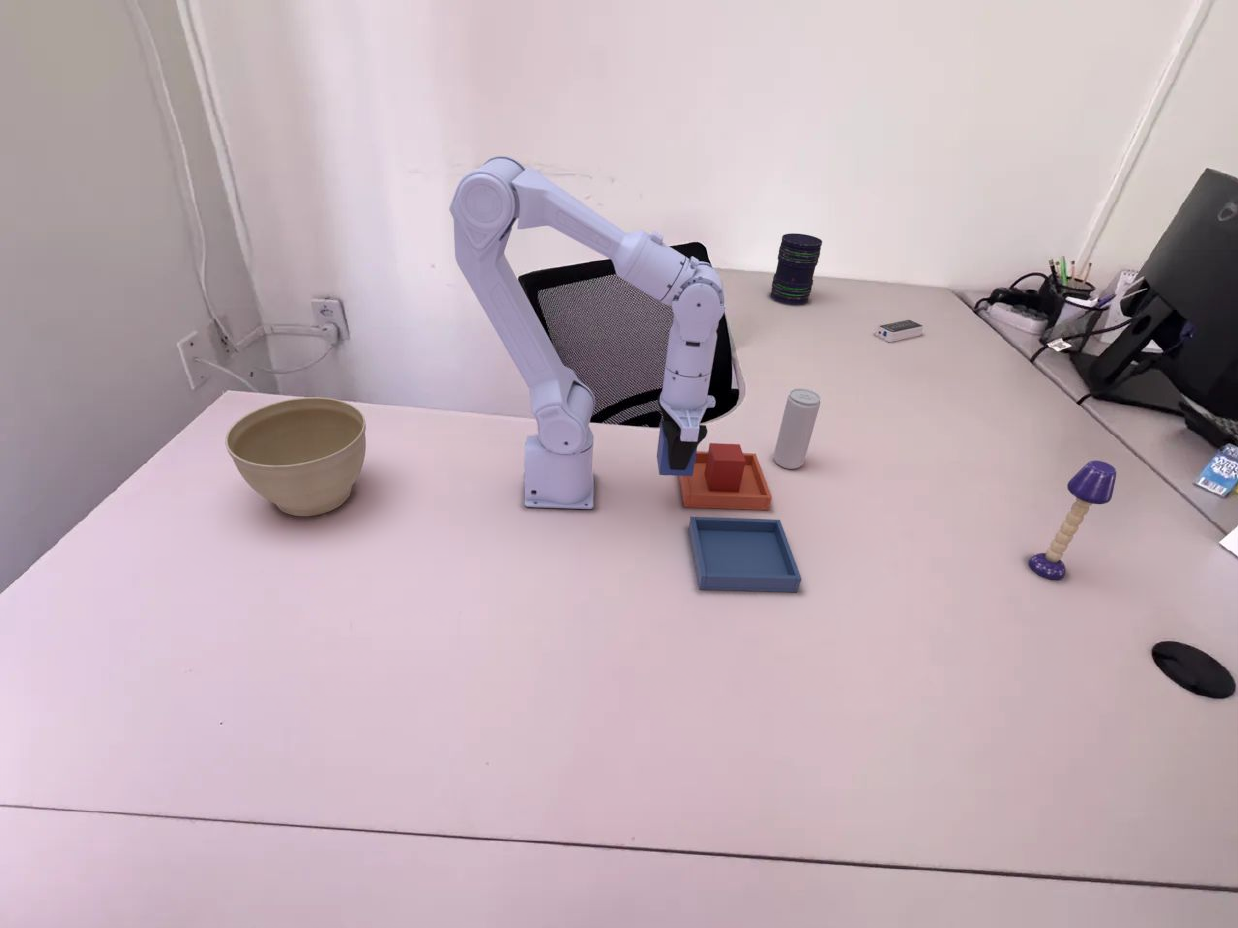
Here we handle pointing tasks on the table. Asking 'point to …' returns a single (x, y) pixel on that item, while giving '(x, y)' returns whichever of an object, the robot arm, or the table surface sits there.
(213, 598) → the table surface
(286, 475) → the planter bowl
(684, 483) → the orange tray
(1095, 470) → the toy lamp
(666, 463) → the blue block
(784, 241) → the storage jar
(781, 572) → the blue tray
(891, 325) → the multiport hub
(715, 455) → the red block
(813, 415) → the beverage can
